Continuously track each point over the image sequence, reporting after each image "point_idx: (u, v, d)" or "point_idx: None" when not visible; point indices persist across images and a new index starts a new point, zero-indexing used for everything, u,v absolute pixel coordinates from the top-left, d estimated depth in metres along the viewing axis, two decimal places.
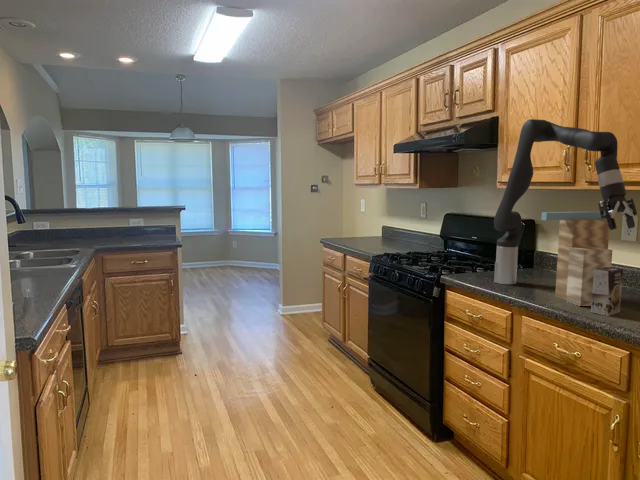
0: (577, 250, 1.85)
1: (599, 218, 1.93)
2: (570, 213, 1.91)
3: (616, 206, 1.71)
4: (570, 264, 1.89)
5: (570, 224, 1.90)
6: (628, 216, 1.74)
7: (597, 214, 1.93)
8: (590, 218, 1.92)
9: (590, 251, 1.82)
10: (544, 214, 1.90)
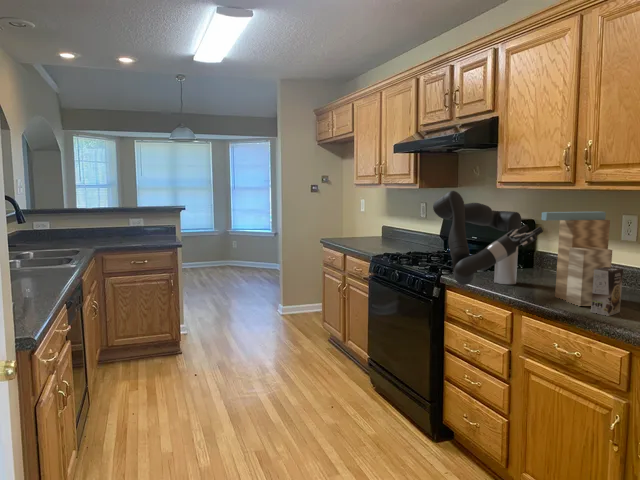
0: (577, 250, 1.85)
1: (599, 218, 1.93)
2: (570, 213, 1.91)
3: None
4: (570, 264, 1.89)
5: (570, 224, 1.90)
6: None
7: (597, 214, 1.93)
8: (590, 218, 1.92)
9: (590, 251, 1.82)
10: (544, 214, 1.90)
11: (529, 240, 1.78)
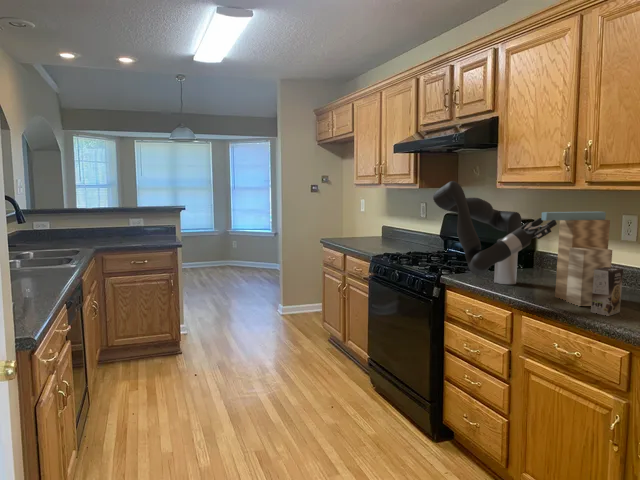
0: (577, 250, 1.85)
1: (599, 218, 1.93)
2: (570, 213, 1.91)
3: None
4: (570, 264, 1.89)
5: (570, 224, 1.90)
6: None
7: (597, 214, 1.93)
8: (590, 218, 1.92)
9: (590, 251, 1.82)
10: (544, 214, 1.90)
11: (543, 232, 1.83)
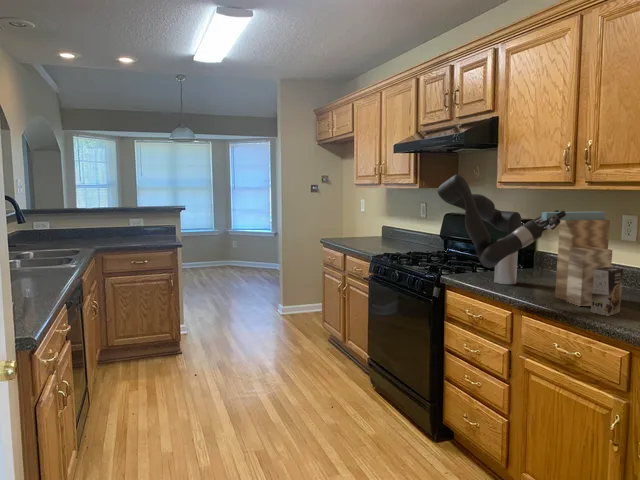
0: (577, 250, 1.85)
1: (599, 218, 1.93)
2: (570, 213, 1.91)
3: None
4: (570, 264, 1.89)
5: (570, 224, 1.90)
6: None
7: (597, 214, 1.93)
8: (590, 218, 1.92)
9: (590, 251, 1.82)
10: (544, 214, 1.90)
11: (556, 222, 1.85)
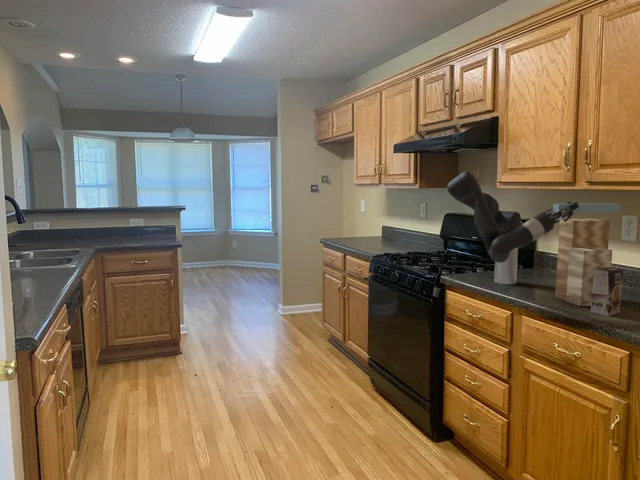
0: (577, 250, 1.85)
1: (613, 210, 1.85)
2: (583, 205, 1.82)
3: None
4: (570, 264, 1.89)
5: (570, 224, 1.90)
6: None
7: (611, 206, 1.84)
8: (604, 210, 1.84)
9: (590, 251, 1.82)
10: (556, 206, 1.82)
11: (568, 214, 1.77)
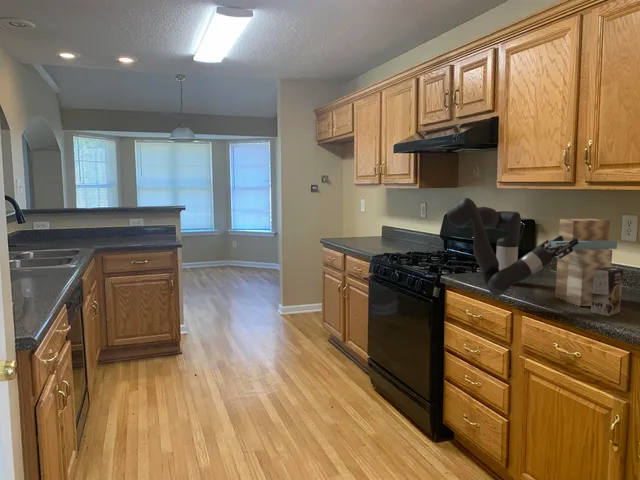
0: (577, 250, 1.85)
1: (610, 247, 1.86)
2: (580, 242, 1.84)
3: None
4: (570, 264, 1.89)
5: (570, 224, 1.90)
6: None
7: (608, 243, 1.86)
8: (601, 247, 1.86)
9: (590, 251, 1.82)
10: (553, 243, 1.83)
11: (565, 252, 1.77)
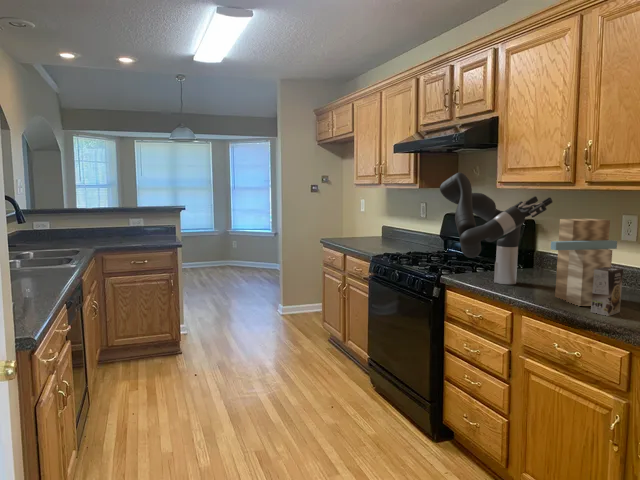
0: (577, 250, 1.85)
1: (610, 247, 1.86)
2: (580, 242, 1.84)
3: None
4: (570, 264, 1.89)
5: (570, 224, 1.90)
6: None
7: (608, 243, 1.86)
8: (601, 247, 1.86)
9: (590, 251, 1.82)
10: (553, 243, 1.83)
11: (538, 210, 1.73)
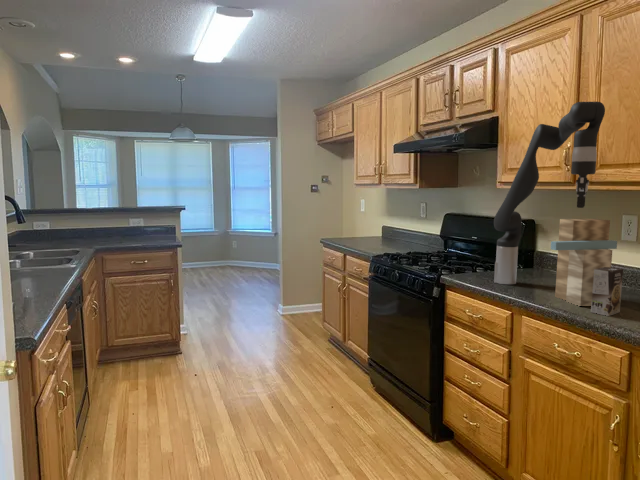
0: (577, 250, 1.85)
1: (610, 247, 1.86)
2: (580, 242, 1.84)
3: None
4: (570, 264, 1.89)
5: (570, 224, 1.90)
6: None
7: (608, 243, 1.86)
8: (601, 247, 1.86)
9: (590, 251, 1.82)
10: (553, 243, 1.83)
11: (581, 185, 1.65)
